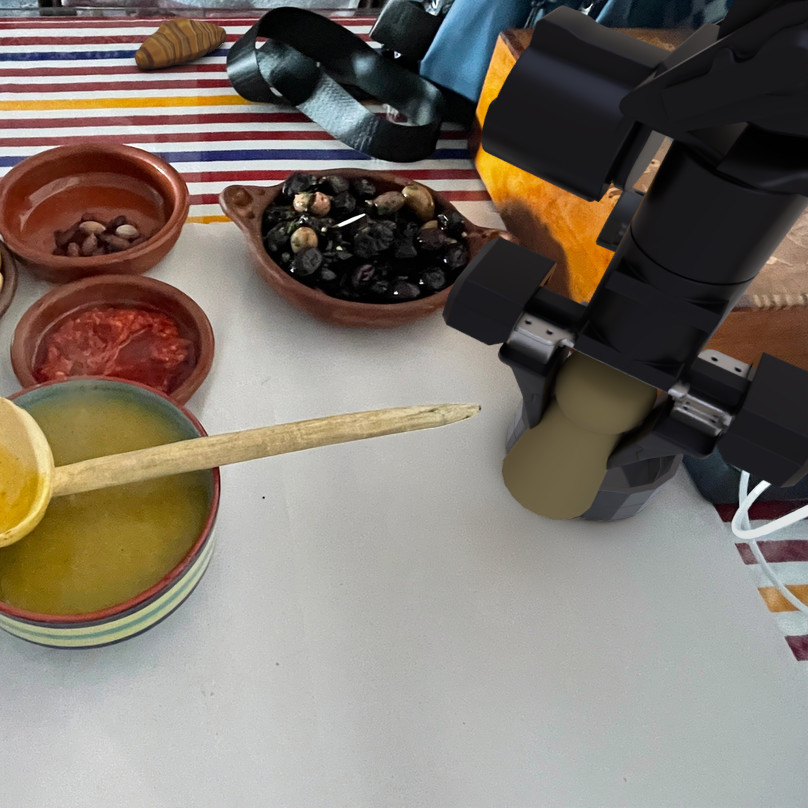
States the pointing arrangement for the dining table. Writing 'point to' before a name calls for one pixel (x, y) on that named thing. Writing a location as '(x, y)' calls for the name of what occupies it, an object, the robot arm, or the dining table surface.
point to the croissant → (179, 43)
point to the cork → (575, 437)
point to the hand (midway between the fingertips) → (570, 444)
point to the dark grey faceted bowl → (616, 479)
